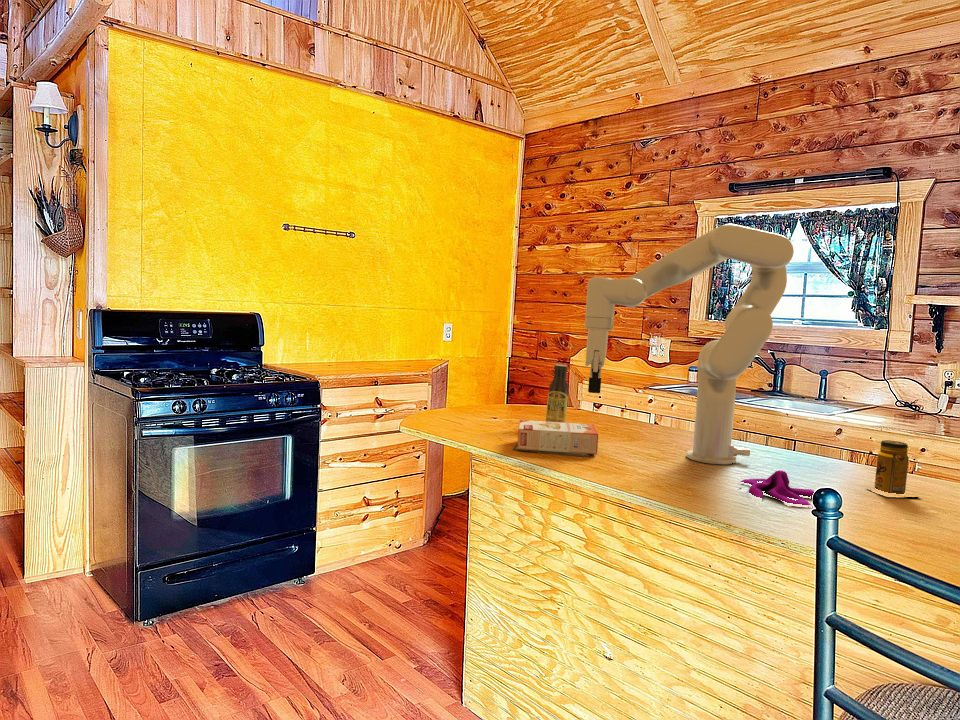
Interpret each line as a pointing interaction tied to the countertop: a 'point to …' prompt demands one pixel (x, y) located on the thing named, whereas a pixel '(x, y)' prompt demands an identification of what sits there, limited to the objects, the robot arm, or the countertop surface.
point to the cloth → (778, 488)
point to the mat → (552, 452)
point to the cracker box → (557, 437)
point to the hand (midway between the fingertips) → (594, 392)
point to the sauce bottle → (558, 396)
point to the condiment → (892, 467)
